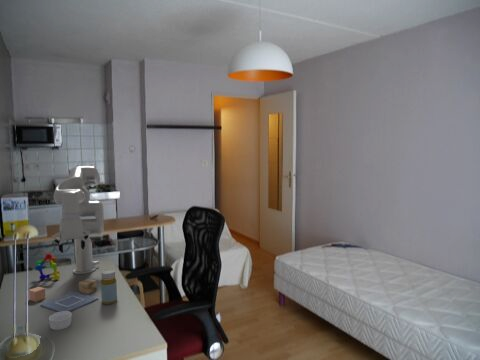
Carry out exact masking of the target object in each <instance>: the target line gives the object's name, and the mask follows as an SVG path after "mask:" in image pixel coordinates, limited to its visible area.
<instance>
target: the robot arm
mask: <svg viewBox="0 0 480 360" xmlns="http://www.w3.org/2000/svg"><path fill="white" fill-rule="evenodd" d="M100 183H101V175H100V173H99V170H98V169H97V167H95V166H93V165H92V166H91V165H82V166H80V165H79V166H74V167H73V168H71V170H70V172H69V174H68V178H67V179H64V180H63V181H61V182H59V183H58V184H57V185H56V187H55V189H54V193H53V202H54V203H55V204H56V205H61V215H62V216H61V217H62V218H61V219H60V221H59V231H58V232H56V233H55V234H52V236H51V238H52V239H53V241H54V242H55V243H56V244H57V245H58V251H60V253H61V254H63V253H64V246H63V242H64V241H69V240H74V255H75V256H74V257H75V258H74V259H75V261H74V262H75V268H74V269H73V270H72V273H73V274H76V275H85V274H90V273H92V272H93V273H94V272H95V271H96V270H97V269H96V265H99V264H100V260H96V261H94V259H93V242H92V239H91V238H90V235H101V234H102V233H103V232H104V227H105V226H104V225H105V223H104V205H103V203H102V201H100V200H91V193H90V191H89V190H88V189H87V188H86V187H94V186H98V185H100ZM88 217H89V218H88ZM90 217H94V218H90ZM82 218H83V219H82ZM57 237H59V240H58V239H57Z"/></svg>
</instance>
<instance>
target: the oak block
mask: <svg viewBox="0 0 480 360" xmlns="http://www.w3.org/2000/svg"><path fill="white" fill-rule="evenodd" d="M97 290H98V289H97V280H94V279H91V278H87V279H84V280H81V281H79V282H78V292H79V293H82V294H85V295H88V294H90V293H92V292H94V291H97Z"/></svg>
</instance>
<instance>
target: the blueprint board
mask: <svg viewBox="0 0 480 360" xmlns="http://www.w3.org/2000/svg"><path fill="white" fill-rule="evenodd" d="M98 300H99V298H98V297H95V296H91V295H88V294H86V293H82V292H79V291H75V290H74V291H71V292H69V293H66V294H63V295H61V296H59V297H56V298H52V300H49V301H46V302H43V303H41V304H40V307H43V308H46V309H48V310H52V311H54V312H55V313H57V312H61V311H69V312H71V313H72V312H73V311H75V310H77V309H79V308H83V307H84V306H88V305H89V304H91V303H93V302H96V301H98Z"/></svg>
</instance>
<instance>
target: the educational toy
mask: <svg viewBox="0 0 480 360" xmlns="http://www.w3.org/2000/svg"><path fill="white" fill-rule="evenodd" d="M57 260H58V259H57V257H55V256H52V254H51V253H46V254H45V257H44V258H43V259H42V260H38V261H36V266H35V270H36V271H38V272H39V274H40V276H39V280H41V281H43V280H45V279H54V280H55V281H58V280H59V279H60V271H59V270H58V268H57V267H58V265H57ZM49 262H50V264H51V265H44V264H47V263H49ZM47 268H50V269H53V272H52V273H49V274H44V273H43V269H47Z"/></svg>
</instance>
